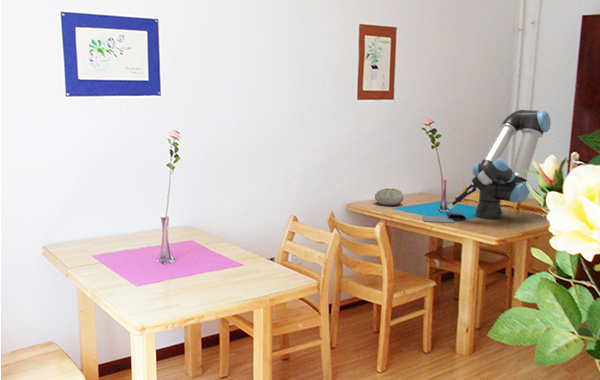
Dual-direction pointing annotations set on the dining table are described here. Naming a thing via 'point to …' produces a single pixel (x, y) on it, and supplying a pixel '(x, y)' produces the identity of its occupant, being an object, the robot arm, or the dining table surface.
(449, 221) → the mat
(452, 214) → the flask
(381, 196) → the cratered grey rock
